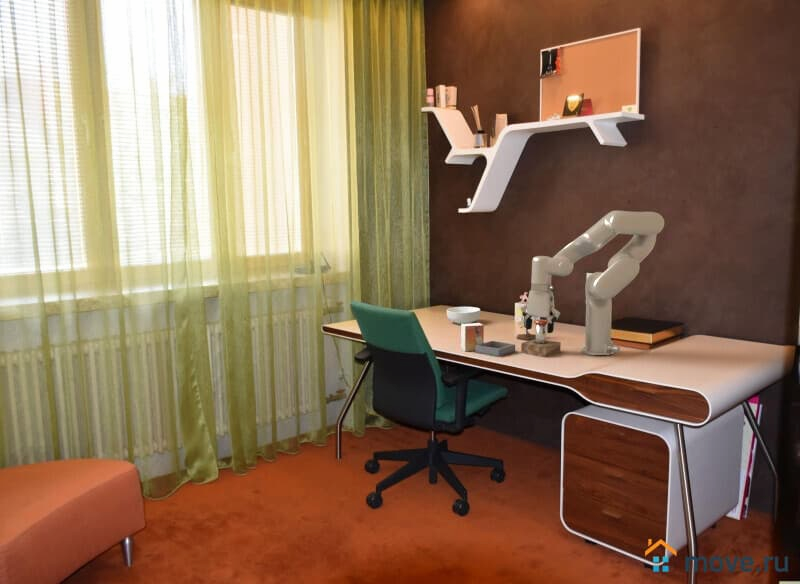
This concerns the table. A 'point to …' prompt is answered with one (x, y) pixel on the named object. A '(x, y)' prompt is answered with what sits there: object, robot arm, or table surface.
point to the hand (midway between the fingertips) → (539, 330)
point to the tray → (495, 348)
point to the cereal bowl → (463, 314)
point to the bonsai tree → (526, 336)
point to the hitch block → (540, 348)
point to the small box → (471, 336)
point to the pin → (541, 331)
